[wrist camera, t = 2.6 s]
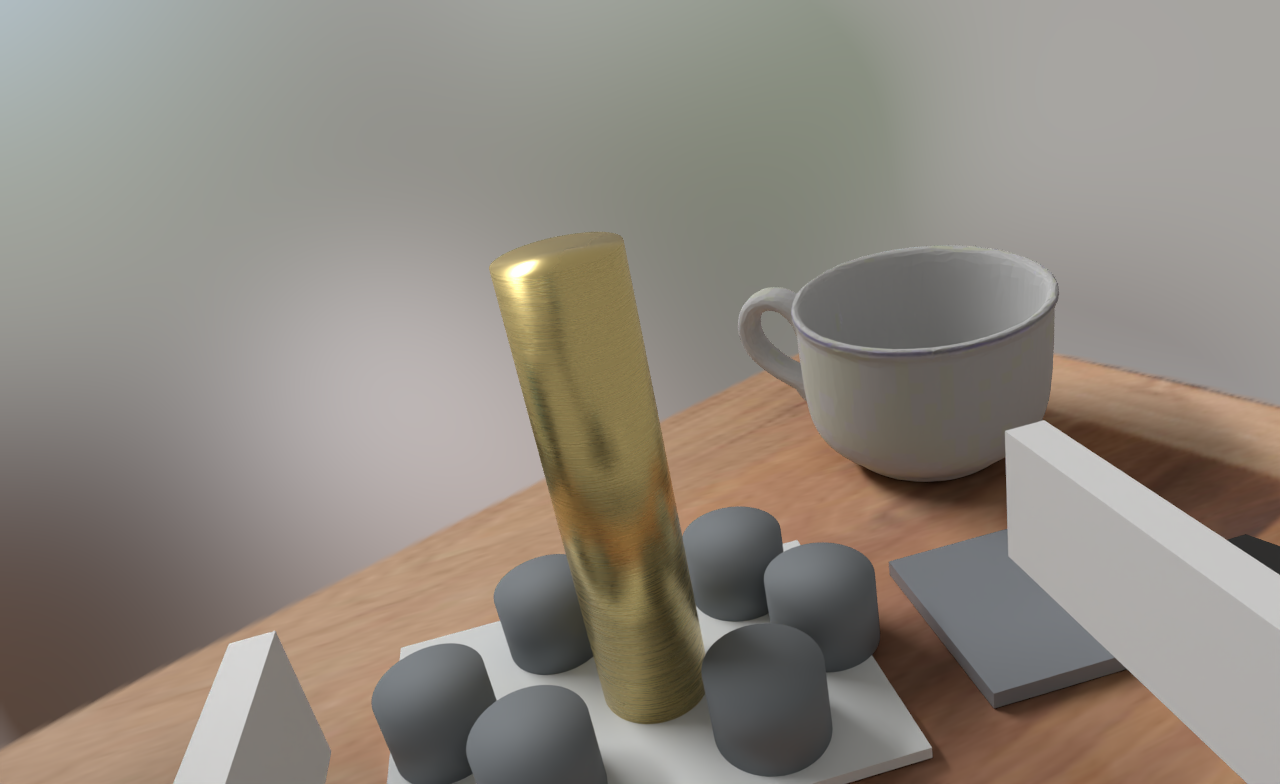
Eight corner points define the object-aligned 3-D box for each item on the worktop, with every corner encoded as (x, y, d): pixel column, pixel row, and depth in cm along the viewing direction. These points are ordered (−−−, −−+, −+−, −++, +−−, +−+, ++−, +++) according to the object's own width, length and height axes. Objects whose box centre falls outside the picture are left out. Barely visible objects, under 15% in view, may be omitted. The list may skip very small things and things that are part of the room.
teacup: (1091, 418, 39) (1098, 250, 36) (992, 543, 33) (989, 351, 29) (827, 373, 49) (813, 236, 46) (709, 463, 42) (682, 311, 39)
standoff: (612, 737, 27) (491, 287, 21) (596, 661, 30) (487, 252, 24) (722, 705, 27) (634, 253, 21) (695, 633, 31) (611, 223, 24)
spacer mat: (377, 925, 23) (342, 852, 22) (404, 655, 33) (380, 596, 32) (958, 750, 25) (955, 673, 24) (817, 542, 35) (809, 482, 34)
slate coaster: (993, 708, 26) (993, 693, 26) (889, 574, 32) (888, 561, 32) (1204, 645, 27) (1206, 630, 26) (1061, 526, 33) (1062, 513, 33)
